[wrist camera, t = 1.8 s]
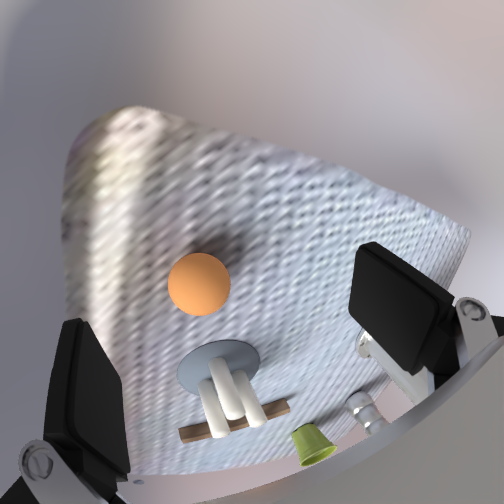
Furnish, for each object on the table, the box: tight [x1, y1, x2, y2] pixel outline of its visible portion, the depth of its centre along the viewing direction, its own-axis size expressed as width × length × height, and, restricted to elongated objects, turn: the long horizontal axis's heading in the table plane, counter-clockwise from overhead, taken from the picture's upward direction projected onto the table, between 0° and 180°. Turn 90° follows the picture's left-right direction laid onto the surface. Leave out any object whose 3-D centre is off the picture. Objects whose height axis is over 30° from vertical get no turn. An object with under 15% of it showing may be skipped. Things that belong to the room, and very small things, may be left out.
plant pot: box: [292, 424, 337, 467], centre depth 53 cm, size 9×9×9 cm
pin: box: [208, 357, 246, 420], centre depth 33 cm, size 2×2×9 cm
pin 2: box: [231, 370, 268, 427], centre depth 35 cm, size 2×2×9 cm
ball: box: [168, 253, 231, 316], centre depth 27 cm, size 6×6×6 cm
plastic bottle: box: [346, 391, 390, 437], centre depth 49 cm, size 6×7×20 cm
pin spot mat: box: [177, 340, 260, 396], centre depth 37 cm, size 12×12×1 cm
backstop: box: [178, 398, 290, 444], centre depth 43 cm, size 20×2×2 cm, turn 94°
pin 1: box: [197, 379, 230, 438], centre depth 34 cm, size 2×2×9 cm
